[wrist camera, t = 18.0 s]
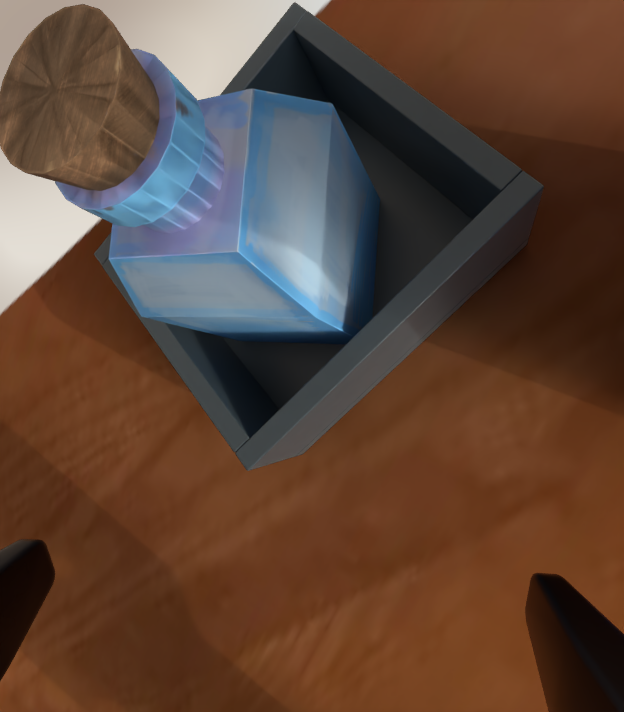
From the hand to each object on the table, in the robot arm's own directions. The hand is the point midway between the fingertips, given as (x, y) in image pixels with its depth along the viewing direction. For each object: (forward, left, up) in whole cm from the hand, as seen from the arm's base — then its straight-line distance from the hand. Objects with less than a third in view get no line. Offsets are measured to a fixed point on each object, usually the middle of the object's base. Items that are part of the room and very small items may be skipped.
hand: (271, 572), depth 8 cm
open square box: (+9, -4, -10) cm, 14 cm away
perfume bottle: (+9, -3, -10) cm, 13 cm away
